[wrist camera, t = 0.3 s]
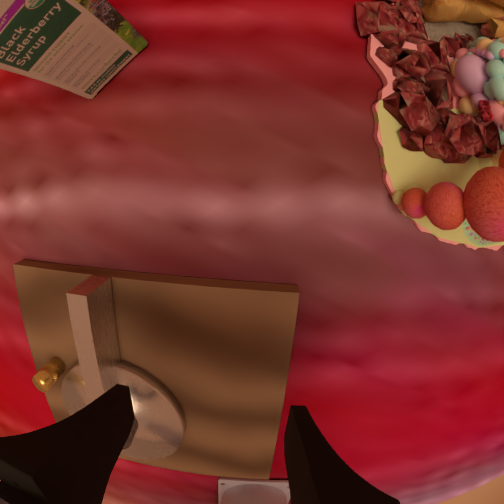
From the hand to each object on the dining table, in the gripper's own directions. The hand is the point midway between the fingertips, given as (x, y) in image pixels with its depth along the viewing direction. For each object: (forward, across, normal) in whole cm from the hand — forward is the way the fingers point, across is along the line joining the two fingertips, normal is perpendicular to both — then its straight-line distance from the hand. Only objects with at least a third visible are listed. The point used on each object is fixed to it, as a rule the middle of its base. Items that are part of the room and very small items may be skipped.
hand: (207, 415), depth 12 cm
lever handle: (+8, +9, +6) cm, 13 cm away
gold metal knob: (+8, +14, +6) cm, 17 cm away
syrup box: (+10, +11, -19) cm, 24 cm away
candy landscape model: (+10, -19, -19) cm, 29 cm away
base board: (+10, +6, +7) cm, 13 cm away
